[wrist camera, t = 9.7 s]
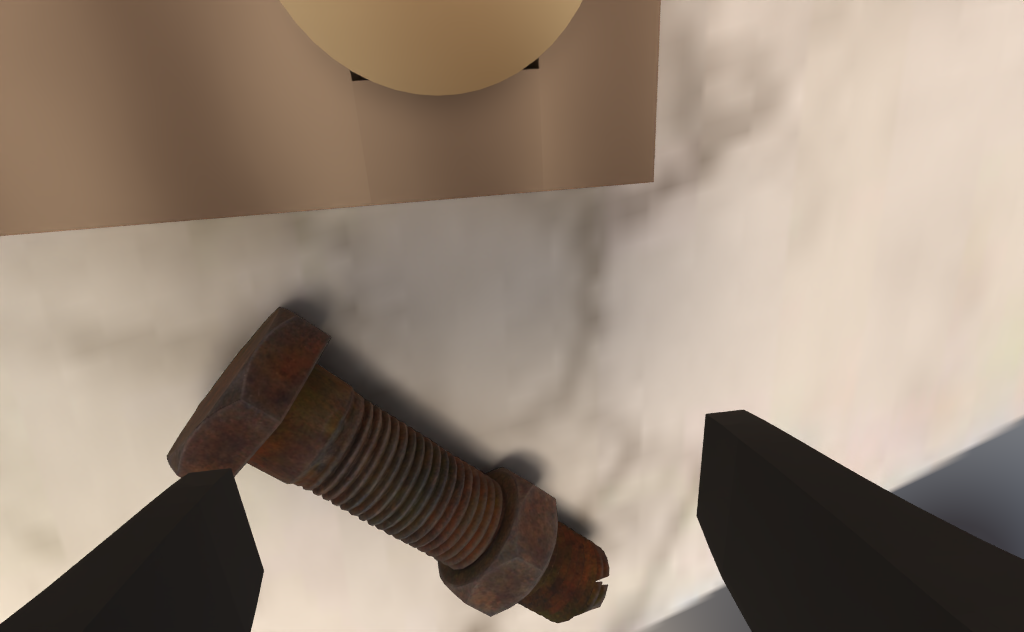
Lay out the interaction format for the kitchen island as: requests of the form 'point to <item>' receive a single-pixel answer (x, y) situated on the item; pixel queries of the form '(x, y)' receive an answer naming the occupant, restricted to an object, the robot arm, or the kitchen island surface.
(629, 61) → the brown flat rectangular block
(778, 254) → the kitchen island surface
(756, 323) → the kitchen island surface
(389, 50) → the oak peg
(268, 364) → the bolt
